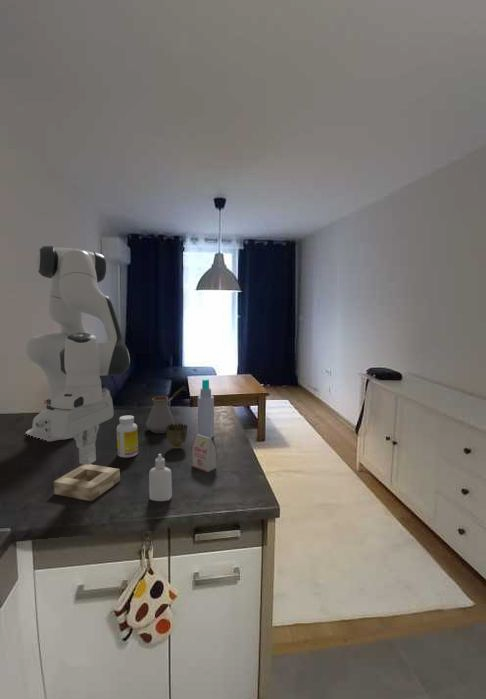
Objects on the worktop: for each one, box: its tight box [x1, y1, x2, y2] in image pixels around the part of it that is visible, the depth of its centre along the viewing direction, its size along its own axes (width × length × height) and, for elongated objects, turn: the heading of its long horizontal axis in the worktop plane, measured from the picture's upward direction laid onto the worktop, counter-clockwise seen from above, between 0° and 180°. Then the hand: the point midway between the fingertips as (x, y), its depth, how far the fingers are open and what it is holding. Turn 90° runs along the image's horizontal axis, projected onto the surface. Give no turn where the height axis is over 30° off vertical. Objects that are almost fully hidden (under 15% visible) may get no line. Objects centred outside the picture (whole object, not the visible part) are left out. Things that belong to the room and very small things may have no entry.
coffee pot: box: [145, 385, 188, 434], centre depth 157 cm, size 21×12×15 cm, turn 150°
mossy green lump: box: [165, 422, 188, 451], centre depth 134 cm, size 8×7×8 cm
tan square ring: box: [53, 463, 121, 502], centre depth 106 cm, size 12×12×4 cm
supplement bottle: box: [116, 415, 139, 459], centre depth 128 cm, size 7×7×13 cm
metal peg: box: [78, 427, 97, 465], centre depth 105 cm, size 3×3×10 cm
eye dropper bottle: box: [148, 453, 173, 502], centre depth 100 cm, size 4×6×12 cm
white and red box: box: [191, 433, 217, 473], centre depth 119 cm, size 4×7×10 cm, turn 52°
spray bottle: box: [197, 378, 215, 439], centre depth 145 cm, size 6×6×22 cm
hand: (86, 443), depth 105 cm, fingers closed on metal peg, 3 cm apart
